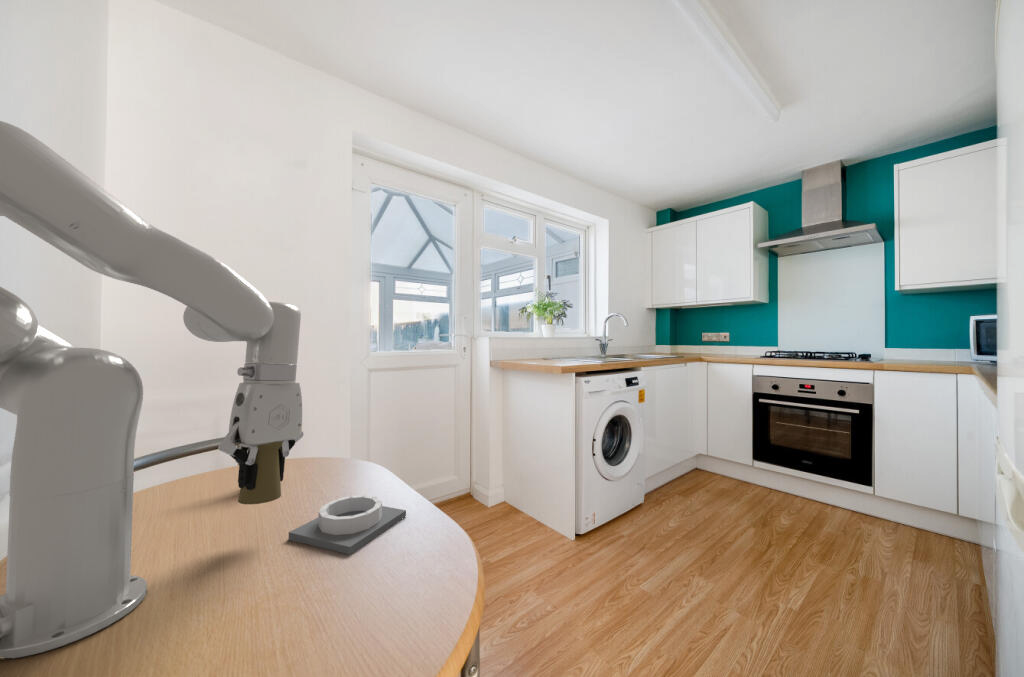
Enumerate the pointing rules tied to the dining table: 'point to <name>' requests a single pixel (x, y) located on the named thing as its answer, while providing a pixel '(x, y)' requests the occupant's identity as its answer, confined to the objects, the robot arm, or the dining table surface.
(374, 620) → the dining table surface
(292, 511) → the dining table surface
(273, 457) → the cork
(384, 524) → the mat
